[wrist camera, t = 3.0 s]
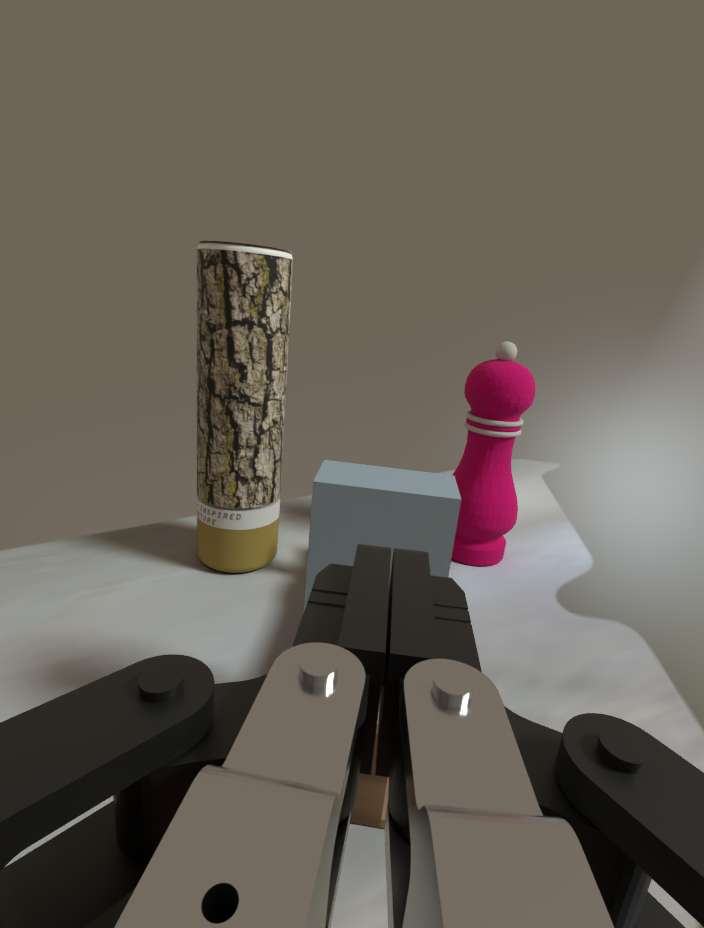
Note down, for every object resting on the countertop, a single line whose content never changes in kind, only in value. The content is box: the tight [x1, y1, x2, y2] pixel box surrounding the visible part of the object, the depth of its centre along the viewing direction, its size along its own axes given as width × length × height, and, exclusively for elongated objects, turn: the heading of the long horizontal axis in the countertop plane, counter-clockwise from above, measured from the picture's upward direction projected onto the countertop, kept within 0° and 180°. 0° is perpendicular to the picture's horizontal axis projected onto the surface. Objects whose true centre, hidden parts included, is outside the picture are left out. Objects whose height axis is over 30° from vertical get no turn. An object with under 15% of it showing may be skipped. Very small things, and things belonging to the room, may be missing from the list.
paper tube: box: [197, 241, 293, 573], centre depth 41 cm, size 7×7×25 cm
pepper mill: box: [451, 342, 535, 566], centre depth 47 cm, size 7×7×20 cm
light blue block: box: [304, 460, 461, 611], centre depth 24 cm, size 6×3×14 cm, turn 84°
